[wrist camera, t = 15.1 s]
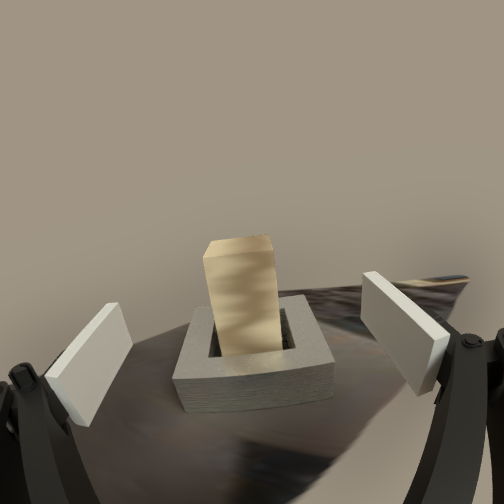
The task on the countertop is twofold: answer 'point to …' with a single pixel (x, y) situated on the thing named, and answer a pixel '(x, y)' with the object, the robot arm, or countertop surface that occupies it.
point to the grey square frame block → (255, 365)
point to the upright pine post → (244, 295)
